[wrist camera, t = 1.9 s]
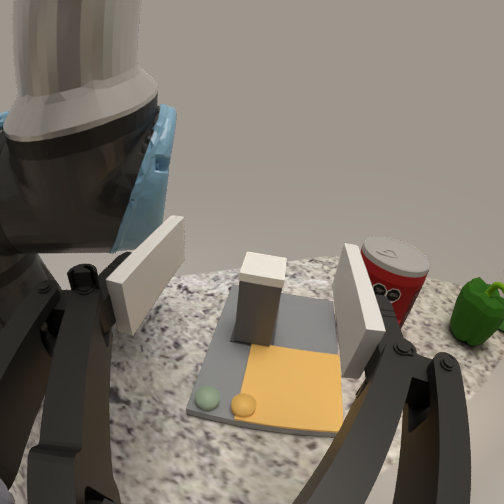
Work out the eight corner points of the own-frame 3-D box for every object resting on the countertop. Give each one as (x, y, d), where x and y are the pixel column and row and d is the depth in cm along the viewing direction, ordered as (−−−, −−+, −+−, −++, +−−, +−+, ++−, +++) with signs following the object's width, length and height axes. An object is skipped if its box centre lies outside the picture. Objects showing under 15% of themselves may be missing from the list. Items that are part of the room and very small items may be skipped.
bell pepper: (435, 314, 35) (463, 257, 31) (472, 318, 35) (499, 266, 30) (453, 354, 28) (491, 292, 23) (491, 354, 27) (526, 298, 22)
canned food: (327, 313, 35) (351, 234, 29) (376, 307, 36) (403, 236, 31) (352, 357, 28) (390, 274, 23) (404, 345, 30) (443, 270, 24)
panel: (187, 413, 21) (185, 402, 20) (232, 290, 37) (233, 278, 36) (337, 437, 20) (346, 427, 19) (330, 307, 36) (334, 295, 35)
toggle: (233, 340, 27) (239, 272, 23) (240, 316, 31) (247, 251, 27) (270, 347, 27) (284, 280, 23) (273, 322, 30) (286, 258, 26)
